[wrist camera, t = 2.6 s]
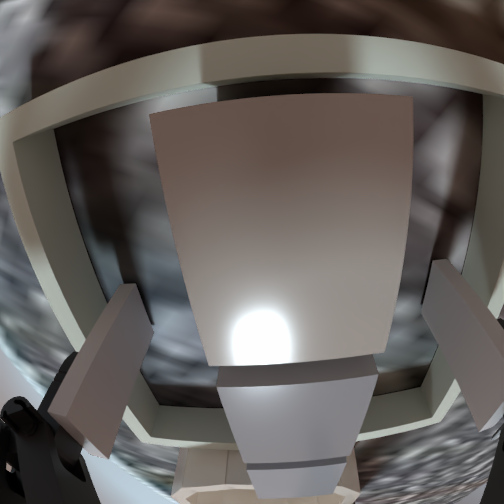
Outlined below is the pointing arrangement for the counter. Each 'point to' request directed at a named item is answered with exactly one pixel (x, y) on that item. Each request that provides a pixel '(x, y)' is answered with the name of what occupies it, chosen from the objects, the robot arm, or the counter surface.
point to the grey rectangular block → (297, 407)
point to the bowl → (242, 481)
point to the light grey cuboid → (296, 478)
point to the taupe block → (289, 221)
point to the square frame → (226, 73)
